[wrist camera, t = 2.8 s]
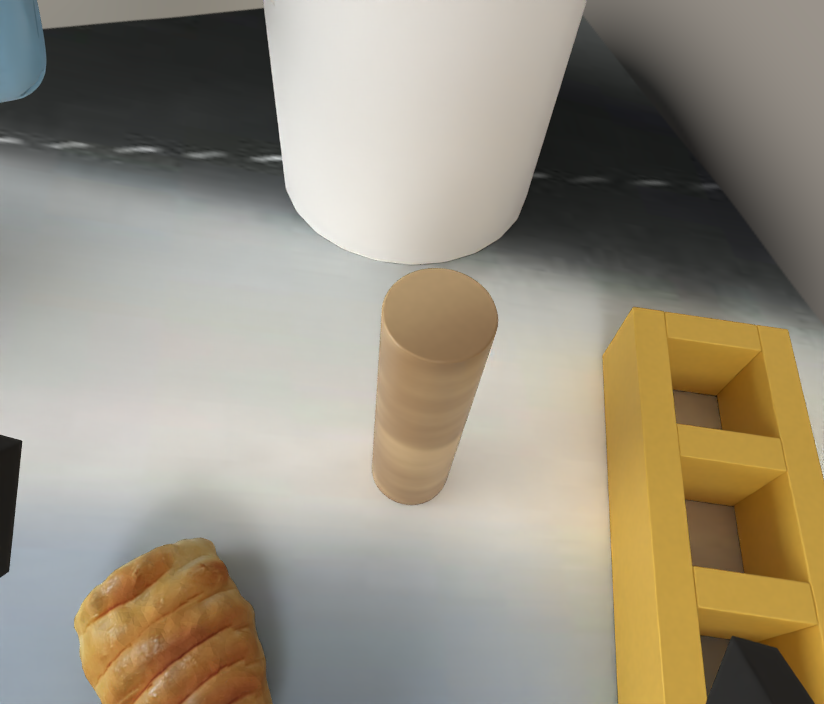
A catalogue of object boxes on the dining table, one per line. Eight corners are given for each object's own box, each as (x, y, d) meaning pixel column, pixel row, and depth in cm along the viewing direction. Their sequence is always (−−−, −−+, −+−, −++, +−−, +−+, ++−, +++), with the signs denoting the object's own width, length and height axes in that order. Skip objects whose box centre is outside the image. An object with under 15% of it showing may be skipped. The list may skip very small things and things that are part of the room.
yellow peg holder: (621, 793, 27) (672, 800, 22) (602, 355, 38) (632, 306, 34) (821, 823, 27) (909, 836, 22) (740, 375, 38) (788, 328, 34)
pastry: (316, 707, 27) (310, 702, 24) (170, 830, 25) (142, 842, 22) (207, 533, 31) (189, 508, 28) (70, 625, 28) (33, 609, 25)
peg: (357, 456, 34) (359, 294, 22) (420, 421, 35) (454, 251, 23) (398, 520, 32) (423, 382, 20) (462, 480, 33) (521, 330, 22)
